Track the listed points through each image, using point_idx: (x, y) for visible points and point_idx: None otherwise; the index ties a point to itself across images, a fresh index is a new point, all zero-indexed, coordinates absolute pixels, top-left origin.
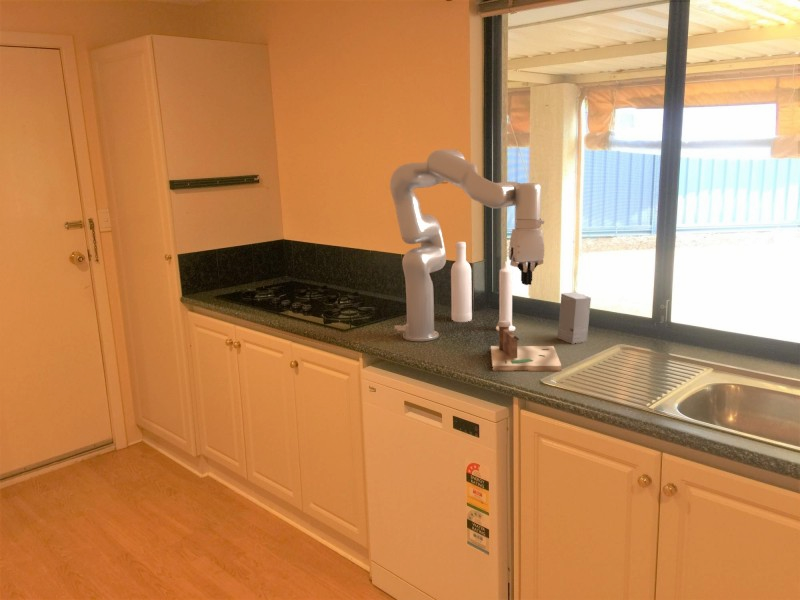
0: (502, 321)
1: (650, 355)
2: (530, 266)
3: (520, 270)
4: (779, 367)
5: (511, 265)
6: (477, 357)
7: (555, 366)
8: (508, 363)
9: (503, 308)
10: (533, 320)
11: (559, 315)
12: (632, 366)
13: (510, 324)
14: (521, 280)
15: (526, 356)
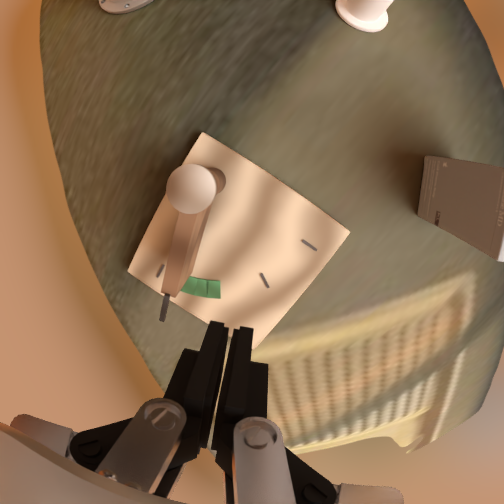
0: (192, 174)
1: (442, 347)
2: (224, 493)
3: (150, 409)
4: (461, 418)
5: (28, 426)
6: (145, 168)
7: None
8: (162, 280)
9: None
10: (453, 20)
11: (463, 160)
12: (374, 377)
13: (372, 17)
14: (183, 354)
15: (228, 262)
